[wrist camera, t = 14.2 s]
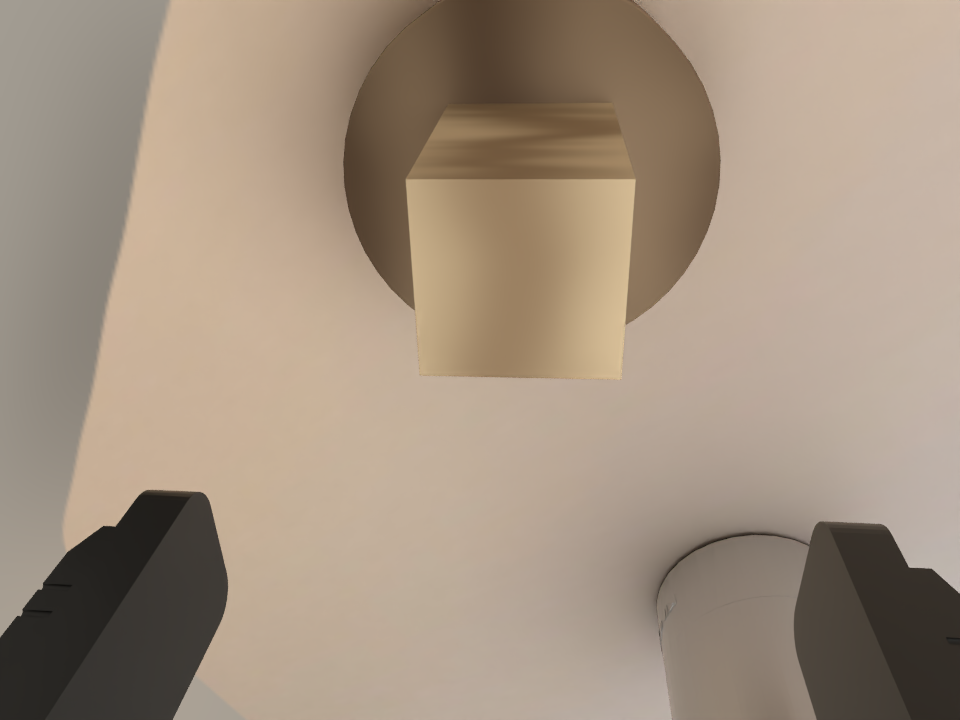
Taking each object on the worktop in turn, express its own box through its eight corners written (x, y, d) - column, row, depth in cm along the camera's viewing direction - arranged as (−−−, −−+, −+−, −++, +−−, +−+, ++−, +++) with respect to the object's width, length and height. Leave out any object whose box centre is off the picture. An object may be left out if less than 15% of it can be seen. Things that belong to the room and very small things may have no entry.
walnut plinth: (713, -37, 26) (744, -28, 22) (679, 293, 32) (698, 352, 28) (358, -27, 27) (321, -16, 23) (388, 291, 33) (362, 347, 29)
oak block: (612, 102, 24) (635, 179, 17) (603, 257, 26) (621, 379, 19) (448, 104, 24) (405, 179, 17) (454, 256, 27) (419, 375, 20)
